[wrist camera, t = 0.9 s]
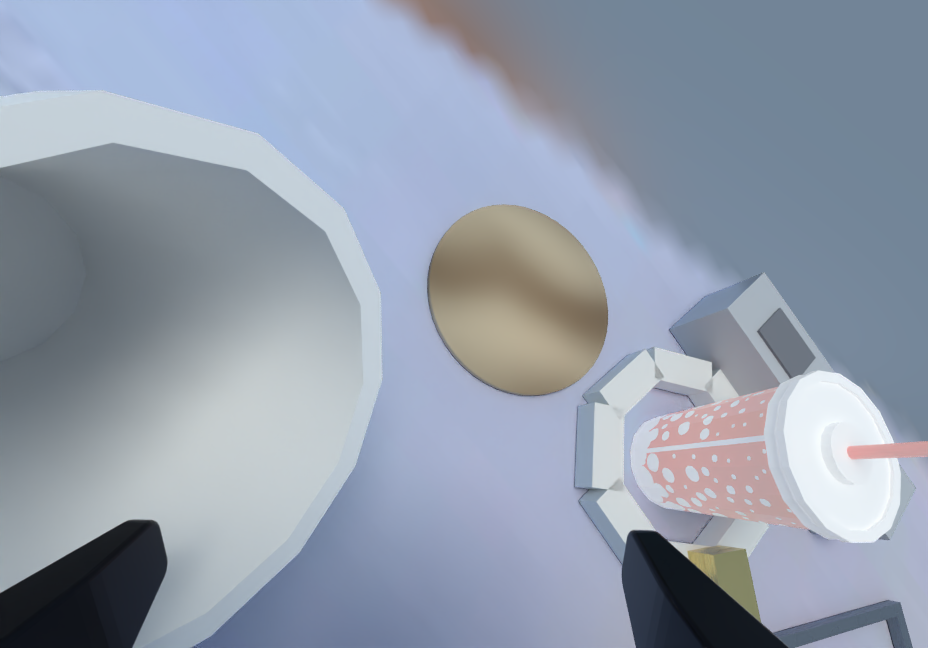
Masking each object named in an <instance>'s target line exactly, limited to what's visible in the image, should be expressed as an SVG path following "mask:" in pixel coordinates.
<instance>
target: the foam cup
mask: <svg viewBox="0 0 928 648" xmlns="http://www.w3.org/2000/svg"><path fill="white" fill-rule="evenodd" d="M381 382H382V330H381V292H380V290H379V288H378V285H377V283H376V281H375V278H374V276H373V274H372V272H371V269H370V267H369V265H368V262H367V260H366V258H365V255H364V253H363V251H362V249H361V246H360V244H359V242H358V239H357V237H356V235H355V232H354V230H353V228H352V225H351V223H350V221H349V219H348V216H347V214H346V212H345V209H344V208H343V207H342V206H341V205H340V204H338V203H337V202H336V201H335V200H334V199H333V198H332V197H330V196H329V195H328V194H327V193H326V192H325V191H324V190H322V189H321V188H320V187H319V186H318V185H317V184H316V183H314V182H313V181H312V180H311V179H310V178H309V177H308V176H306V175H305V174H304V173H303V172H302V171H301V170H300V169H298V168H297V167H296V166H295V165H294V164H293V163H292V162H290V161H289V160H288V159H287V158H286V157H285V156H284V155H282V154H281V153H280V152H279V151H278V150H277V149H276V148H274V147H273V146H272V145H271V144H270V143H269V142H268V141H266V140H265V139H264V138H263V137H262V136H261V135H259V134H258V133H255V132H251V131H248V130H244V129H240V128H237V127H233V126H230V125H226V124H222V123H219V122H215V121H212V120H208V119H204V118H201V117H197V116H193V115H190V114H186V113H183V112H179V111H175V110H172V109H168V108H165V107H161V106H157V105H154V104H150V103H147V102H143V101H139V100H136V99H132V98H129V97H125V96H121V95H118V94H114V93H111V92H107V91H103V90H85V91H34V92H27V93H20V94H14V95H7V96H0V593H1V592H3V591H4V590H6V589H8V588H10V587H11V586H13V585H15V584H17V583H18V582H20V581H22V580H24V579H25V578H27V577H29V576H31V575H32V574H34V573H36V572H38V571H39V570H41V569H43V568H45V567H46V566H48V565H50V564H52V563H53V562H55V561H57V560H59V559H60V558H62V557H64V556H66V555H67V554H69V553H71V552H73V551H74V550H76V549H78V548H80V547H81V546H83V545H85V544H87V543H88V542H90V541H92V540H94V539H95V538H97V537H99V536H101V535H102V534H104V533H106V532H108V531H109V530H111V529H113V528H115V527H116V526H118V525H120V524H121V523H123V522H125V521H128V520H132V519H143V520H154V521H156V522H157V523H158V524H159V526H160V529H161V533H162V537H163V542H164V546H165V550H166V554H167V560H168V565H167V571H166V574H165V577H164V579H163V581H162V584H161V586H160V588H159V590H158V592H157V595H156V597H155V599H154V601H153V603H152V606H151V608H150V610H149V612H148V614H147V617H146V619H145V621H144V623H143V625H142V628H141V630H140V632H139V634H138V636H137V639H136V641H135V643H134V645H133V647H132V648H191V647H193V646H195V645H196V644H198V643H200V642H202V641H204V640H205V639H207V638H209V637H211V636H212V635H213V634H214V633H215V632H216V631H217V630H218V629H219V628H220V627H221V626H222V625H223V624H224V623H226V622H227V621H228V620H229V619H230V618H231V617H232V616H233V615H234V614H235V613H236V612H237V611H238V610H239V609H240V608H241V607H242V606H244V605H245V604H246V603H247V602H248V601H249V600H250V599H251V598H252V597H253V596H254V595H255V594H256V593H257V592H258V591H259V590H261V589H262V588H263V587H264V586H265V585H266V584H267V583H268V582H269V581H270V580H271V579H272V578H273V577H274V576H275V575H276V574H277V573H279V572H280V571H281V570H282V569H283V568H284V567H285V566H286V565H287V564H288V563H289V562H290V561H291V560H292V559H293V558H294V557H295V556H297V555H298V554H299V553H300V551H301V550H302V548H303V547H304V545H305V544H306V542H307V541H308V539H309V537H310V536H311V534H312V533H313V531H314V530H315V528H316V527H317V525H318V523H319V522H320V520H321V519H322V517H323V516H324V514H325V513H326V511H327V509H328V508H329V506H330V505H331V503H332V502H333V500H334V499H335V497H336V495H337V494H338V492H339V491H340V489H341V488H342V486H343V485H344V483H345V481H346V480H347V478H348V477H349V475H350V474H351V472H352V471H353V469H354V467H355V466H356V463H357V459H358V456H359V453H360V450H361V447H362V443H363V440H364V437H365V434H366V431H367V427H368V424H369V421H370V418H371V415H372V411H373V408H374V405H375V402H376V399H377V395H378V392H379V389H380V386H381Z"/></svg>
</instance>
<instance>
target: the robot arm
mask: <svg viewBox="0 0 928 648" xmlns="http://www.w3.org/2000/svg"><path fill="white" fill-rule="evenodd" d="M167 565H168V560H167V554H166V550H165V546H164V542H163V537H162V533H161V529H160V526H159V524H158V523H157V522H156V521H154V520H143V519H132V520H128V521H125V522H123V523H121V524H120V525H118V526H116V527H115V528H113V529H111V530H109V531H108V532H106V533H104V534H102V535H101V536H99V537H97V538H95V539H94V540H92V541H90V542H88V543H87V544H85V545H83V546H81V547H80V548H78V549H76V550H74V551H73V552H71V553H69V554H67V555H66V556H64V557H62V558H60V559H59V560H57V561H55V562H53V563H52V564H50V565H48V566H46V567H45V568H43V569H41V570H39V571H38V572H36V573H34V574H32V575H31V576H29V577H27V578H25V579H24V580H22V581H20V582H18V583H17V584H15V585H13V586H11V587H10V588H8V589H6V590H4V591H3V592H1V593H0V648H132V647H133V645H134V643H135V641H136V639H137V636H138V634H139V632H140V630H141V628H142V625H143V623H144V621H145V619H146V617H147V614H148V612H149V610H150V608H151V606H152V603H153V601H154V599H155V597H156V595H157V592H158V590H159V588H160V586H161V584H162V581H163V579H164V577H165V574H166V571H167ZM622 584H623V589H624V594H625V598H626V603H627V608H628V612H629V617H630V622H631V626H632V631H633V635H634V640H635V645H636V648H789V647H788V646H787V645H786V644H785V643H783V642H782V641H781V640H780V639H779V638H778V637H777V636H775V635H774V634H773V633H772V632H771V631H770V630H769V629H768V628H766V627H765V626H764V625H763V624H762V623H761V622H760V621H758V620H757V619H756V618H755V617H754V616H753V615H752V614H750V613H749V612H748V611H747V610H746V609H745V608H744V607H742V606H741V605H740V604H739V603H738V602H737V601H736V600H734V599H733V598H732V597H731V596H730V595H729V594H728V593H727V592H725V591H724V590H723V589H722V588H721V587H720V586H719V585H717V584H716V583H715V582H714V581H713V580H712V579H711V578H709V577H708V576H707V575H706V574H705V573H704V572H703V571H701V570H700V569H699V568H698V567H697V566H696V565H695V564H694V563H692V562H691V561H690V560H689V559H688V558H687V557H686V556H684V555H683V554H682V553H681V552H680V551H679V550H678V549H676V548H675V547H674V546H673V545H672V544H671V543H670V542H668V541H667V540H666V539H665V538H664V537H663V536H662V535H661V534H659V533H658V532H656V531H653V530H632V531H630V532H629V533H628V536H627V540H626V546H625V552H624V559H623V565H622Z"/></svg>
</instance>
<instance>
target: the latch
mask: <svg viewBox="0 0 928 648" xmlns="http://www.w3.org/2000/svg"><path fill="white" fill-rule="evenodd" d="M687 552H688V558H689V560H690V561H691V562H692V563H694V564H695V565H696V566H697V567H698V568H699V569H700V570H701V571H703V572H704V573H705V574H706V575H707V576H708V577H709V578H711V579H712V580H713V581H714V582H715V583H716V584H717V585H719V586H720V587H721V588H722V589H723V590H724V591H725V592H727V593H728V594H729V595H730V596H731V597H732V598H733V599H734V600H736V601H737V602H738V603H739V604H740V605H741V606H742V607H744V608H745V609H746V610H747V611H748V612H749V613H750V614H752V615H753V616H754V617H755V618H756V619H757V620H758V621H760V622H761V620H760V615H759V610H758V606H757V601H756V596H755V591H754V586H753V581H752V577H751V572H750V567H749V562H748V557H747V553H746V549H743V548H736V547H728V546H721V545H717V546H712V547H706V548H701V549H695V550H690V551H687Z"/></svg>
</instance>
